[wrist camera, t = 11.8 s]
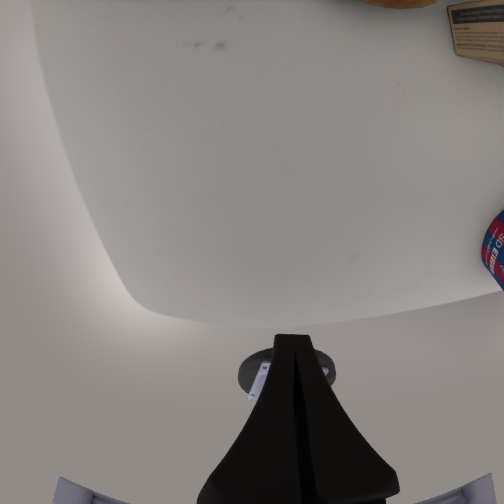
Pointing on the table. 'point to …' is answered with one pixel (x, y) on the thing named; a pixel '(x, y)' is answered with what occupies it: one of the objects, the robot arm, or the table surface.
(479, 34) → the ink box
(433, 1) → the onion
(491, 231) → the cup
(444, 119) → the table surface
